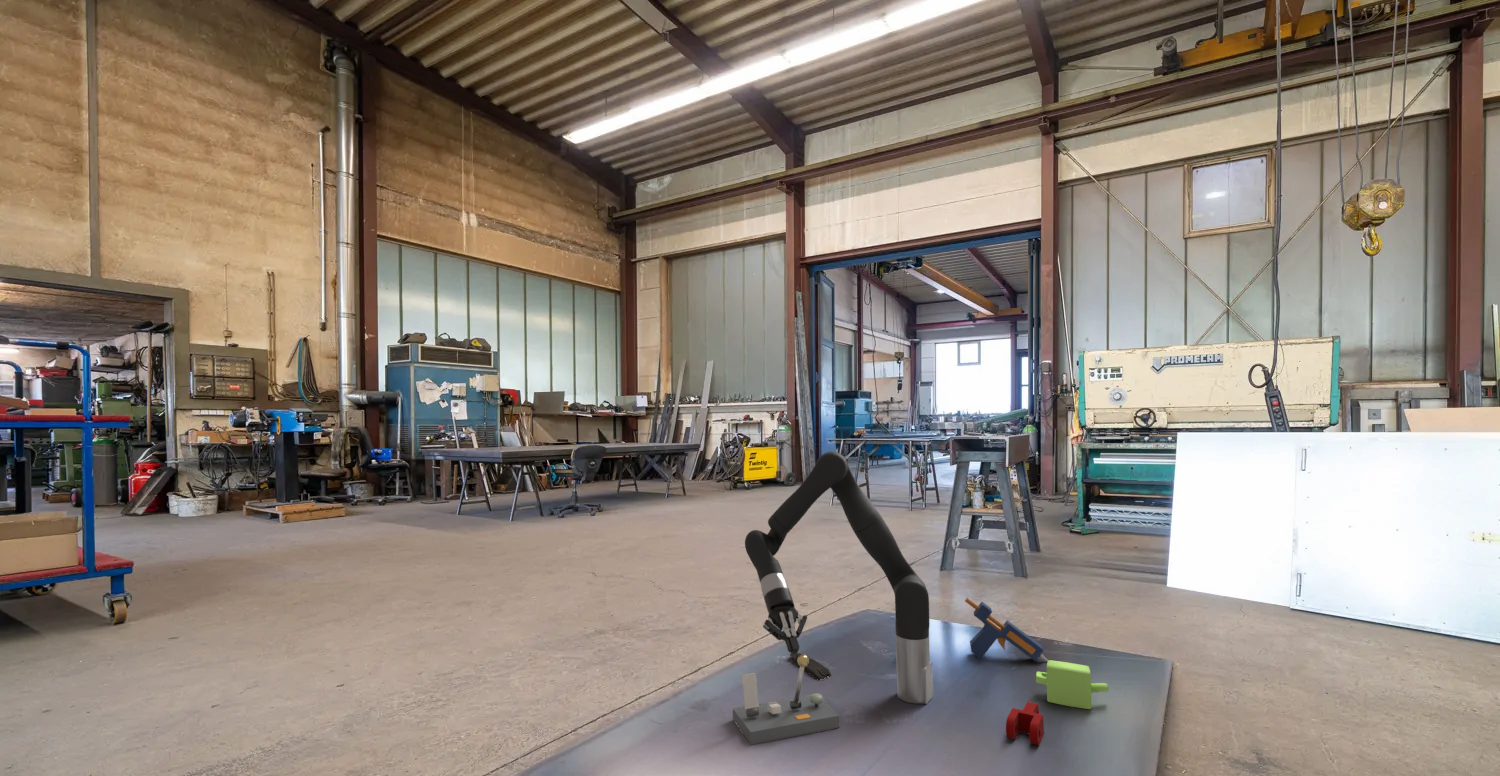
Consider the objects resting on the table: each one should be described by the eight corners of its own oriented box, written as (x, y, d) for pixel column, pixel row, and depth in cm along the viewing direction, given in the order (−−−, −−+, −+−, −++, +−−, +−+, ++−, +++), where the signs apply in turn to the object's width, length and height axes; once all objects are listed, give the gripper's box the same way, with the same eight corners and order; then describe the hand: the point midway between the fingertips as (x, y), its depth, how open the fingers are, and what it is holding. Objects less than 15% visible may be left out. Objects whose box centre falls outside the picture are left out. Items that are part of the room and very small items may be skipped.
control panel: (732, 720, 167) (732, 707, 168) (815, 705, 176) (815, 693, 176) (751, 744, 154) (750, 731, 154) (839, 727, 162) (839, 714, 163)
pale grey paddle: (744, 717, 162) (741, 674, 165) (758, 714, 163) (754, 672, 166) (747, 718, 160) (743, 675, 163) (760, 715, 162) (756, 673, 165)
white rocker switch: (767, 710, 165) (767, 702, 166) (776, 709, 166) (775, 701, 166) (772, 714, 162) (772, 706, 162) (781, 712, 163) (780, 704, 163)
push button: (808, 704, 169) (808, 694, 169) (819, 702, 170) (819, 692, 170) (813, 709, 166) (813, 699, 166) (824, 707, 167) (824, 697, 167)
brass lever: (787, 704, 167) (796, 652, 162) (798, 702, 168) (807, 650, 163) (791, 712, 165) (800, 660, 160) (802, 711, 166) (811, 659, 161)
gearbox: (1108, 701, 177) (1107, 665, 178) (1110, 714, 168) (1109, 676, 169) (1037, 688, 185) (1036, 655, 186) (1035, 700, 176) (1035, 665, 177)
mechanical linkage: (1038, 749, 151) (1037, 727, 151) (1006, 741, 155) (1005, 720, 155) (1049, 722, 164) (1048, 702, 164) (1020, 716, 168) (1019, 696, 168)
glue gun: (1026, 694, 205) (1055, 658, 203) (944, 633, 210) (971, 597, 209) (1022, 685, 211) (1050, 650, 209) (943, 626, 216) (969, 592, 215)
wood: (840, 678, 195) (840, 668, 195) (819, 682, 192) (819, 672, 192) (805, 655, 215) (805, 646, 215) (785, 659, 212) (785, 649, 212)
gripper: (757, 588, 174) (775, 648, 162) (801, 584, 179) (822, 642, 167) (751, 603, 179) (767, 663, 167) (794, 598, 183) (813, 656, 171)
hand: (795, 652), depth 167 cm, fingers closed
